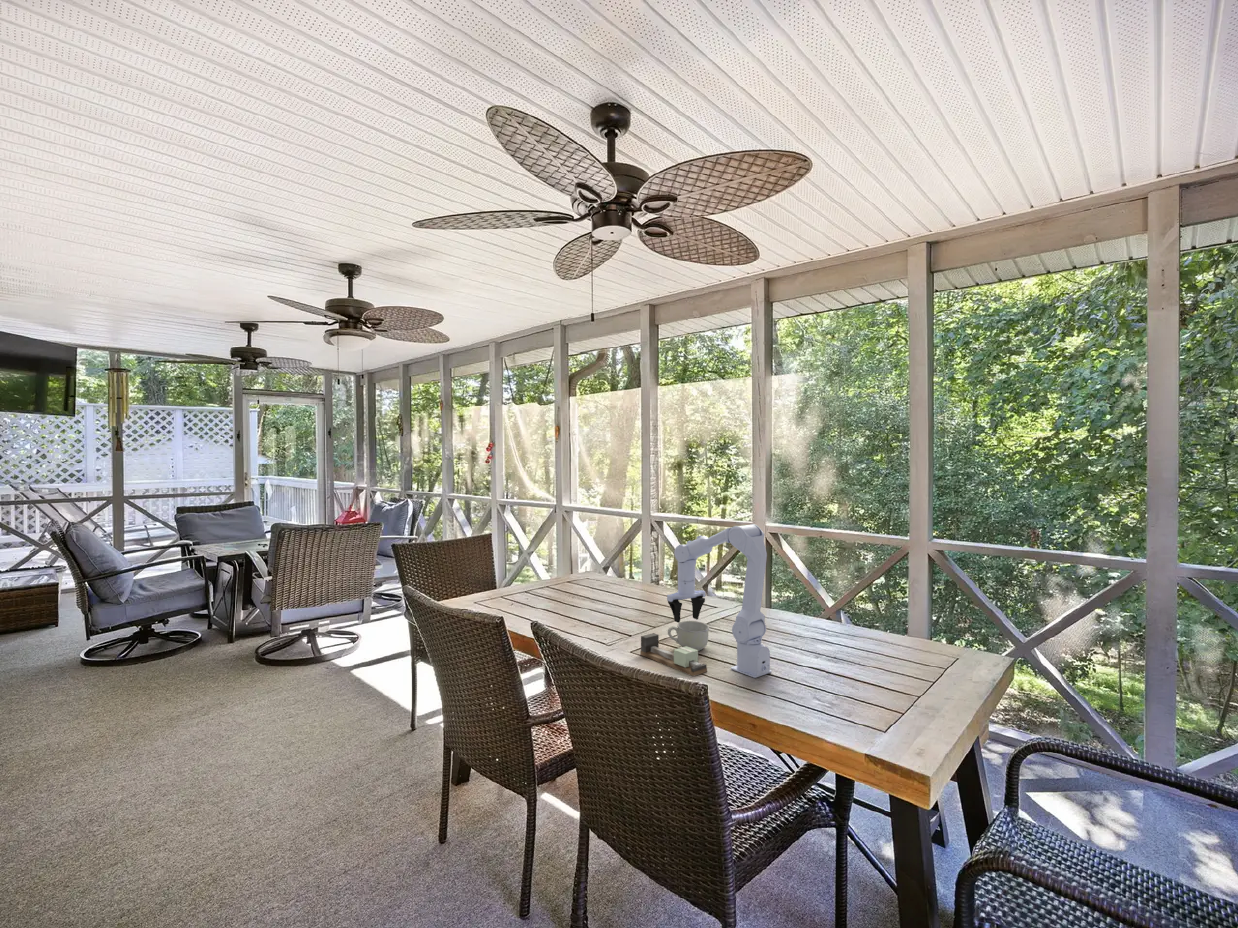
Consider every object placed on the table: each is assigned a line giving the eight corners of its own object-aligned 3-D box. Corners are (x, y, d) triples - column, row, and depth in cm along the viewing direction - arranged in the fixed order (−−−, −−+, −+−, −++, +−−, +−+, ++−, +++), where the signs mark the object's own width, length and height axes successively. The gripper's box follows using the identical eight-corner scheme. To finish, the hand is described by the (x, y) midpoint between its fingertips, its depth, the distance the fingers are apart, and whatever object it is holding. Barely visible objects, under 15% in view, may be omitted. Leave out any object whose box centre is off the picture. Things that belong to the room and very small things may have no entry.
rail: (707, 671, 175) (707, 651, 175) (692, 676, 171) (693, 655, 171) (654, 650, 194) (654, 632, 194) (640, 654, 190) (640, 636, 190)
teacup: (708, 643, 201) (708, 621, 201) (709, 654, 190) (709, 630, 190) (667, 642, 203) (667, 619, 203) (667, 652, 192) (667, 628, 192)
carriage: (697, 663, 177) (698, 649, 177) (685, 667, 174) (685, 653, 174) (686, 659, 181) (686, 645, 181) (673, 662, 178) (673, 648, 178)
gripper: (696, 575, 202) (696, 614, 202) (661, 579, 195) (661, 620, 195) (709, 579, 196) (709, 619, 196) (674, 583, 189) (674, 625, 189)
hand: (686, 620), depth 195 cm, fingers open, 7 cm apart
